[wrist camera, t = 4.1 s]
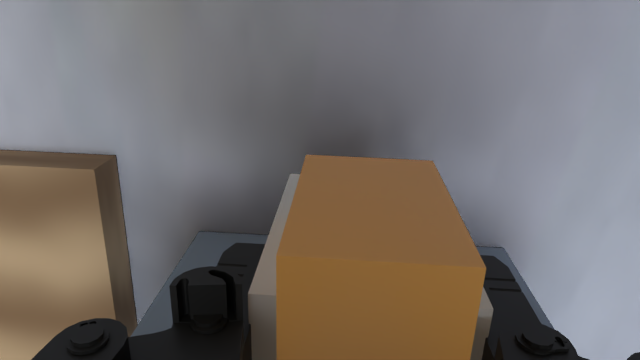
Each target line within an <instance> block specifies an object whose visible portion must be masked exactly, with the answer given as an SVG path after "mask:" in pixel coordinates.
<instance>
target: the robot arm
mask: <svg viewBox="0 0 640 360" xmlns="http://www.w3.org/2000/svg"><path fill="white" fill-rule="evenodd" d="M299 177H300V174H290V176H289V179H288V181H287V184H286V187H285V190H284V193H283V196H282V198H281V201H280V204H279V207H278V210H277V213H276V215H275V218H274V221H273V224H272V227H271V230H270V232H269V235H268V238H267V241H266V244H254V243H235V244H233V245H232V246H231V247H229V248H228V249H227V250H225V251H224V252H223V253H222V255H221V257H220V259H219V261H218V264H217V265H216V267H214V266H208V267H199V268H195V269H192V270H189V271H186V272H184V273H182V274H181V275H179V276H177V277H176V278H175V279H174V280H173V281H172V283H171V284H170V286H169V288H170V298H171V309H172V319H173V324H172V328H170V329H167V330H165V331H161V332H156V333H152V334H145V335H139V336H132V337H128V333H127V327H126V326H125V325H123V324H122V323H121V322H120V321H117V320H114V319H110V318H94V319H89V320H85V321H81V322H78V323H76V324H74V325H72V326H69V327H67V328H65V329H64V330H63V331H61V332H60V333H59V334H57V335H56V336H55V337H54V338H53V339H52V340H51V341H50V342H48V343H47V344H46V345H45V346H44V347H43V348H42V349H41V350H40V351H39V352H38V353H37V354H36V355H35V356H34V357H33V358H32V359H31V360H277V351H276V255H277V251H278V248H279V244H280V241H281V238H282V234H283V231H284V227H285V224H286V221H287V217H288V214H289V211H290V207H291V204H292V200H293V197H294V194H295V190H296V187H297V183H298V180H299ZM480 256H481V258H482V260H483V262H484V264H485V266H486V273H485V278H484V284H483V290H482V295H481V301H480V306H479V312H478V318H477V323H476V329H475V334H474V340H473V346H472V351H471V357H470V360H588V359H585V358H582V357H580V356H578V355H577V352H576V350H575V348H574V347H573V345H572V344H571V342H570V341H569V339H567V338H566V337H565V336H563V335H562V334H561V333H559V332H558V331H556V330H554V329H552V328H550V327H548V326H546V325H544V324H541V322H540V321H539V319H538V317H537V315H536V314H535V312H534V310H533V309H532V307H531V305H530V303H529V302H528V300H527V298H526V296H525V295H524V293H523V292H521V288H520V286H519V284H518V283H517V282H516V281H515V280H516V279H515V278H514V276H513V274H512V272H511V271H510V269H509V267H508V266H506V265H505V264H504V263H503V262H501V261H500V260H499V259H497V258H496V257H495V256H489V255H480ZM627 360H640V352H639V353H634V354H632V355H631V356H630V357H629V358H628V359H627Z"/></svg>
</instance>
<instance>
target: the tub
mask: <svg viewBox="0 0 640 360" xmlns="http://www.w3.org/2000/svg"><path fill="white" fill-rule="evenodd" d="M267 238H268V235H256V234H237V233H219V232H200V231H199V233H198V234H197V236H196V237H195V239H194V240H193V242H192V243H191V245H190V246H189V248H188V249H187V251H186V253H185V254H184V256H183V257H182V259H181V260H180V262H179V263H178V265H177V266H176V268H175V269H174V271H173V272H172V274H171V275H170V277H169V278H168V280H167V281H166V283H165V285H164V286H163V288H162V289H161V291H160V292H159V294H158V295H157V297H156V298H155V300H154V301H153V303H152V304H151V306H150V307H149V309H148V310H147V312H146V314H145V315H144V317H143V318H142V320H141V321H140V323H139V324H138V326H137V327H136V329H135V330H134V332H133V333H132V335H131V336H130V337H132V336H139V335H145V334H152V333H156V332H161V331H165V330H167V329H170V328H172V324H173V319H172V309H171V298H170V288H169V286H170V284H171V283H172V281H173V280H174V279H175V278H176V277H177V276H179V275H181V274H182V273H184V272H186V271H189V270H192V269H195V268H199V267H208V266H214V267H216V265H217V264H218V261H219V259H220V257H221V255H222V253H223V252H224V251H225V250H227V249H228V248H229V247H231V246H232V245H233V244H235V243H254V244H266V241H267ZM476 248H477V250H478V252H479V254H480V255H489V256H495V257H496V258H497V259H499V260H500V261H501V262H503V263H504V264H505V265H506V266H508V267H509V269H510V271H511V272H512V274H513V276H514V278H515V279H516V280H515V281H516V282H517V283H518V284H519V286H520V288H521V292H523V293H524V295H525V296H526V298H527V300H528V302H529V303H530V305H531V307H532V309H533V310H534V312H535V314H536V315H537V317H538V319H539V321H540V322H541V324H544V325H546V326H548V327H550V328H552V329H554V328H553V326H552V325H551V323H550V321H549V320H548V318H547V317H546V315H545V313H544V312H543V310H542V309H541V307H540V305H539V304H538V302H537V301H536V299H535V297H534V296H533V294H532V293H531V291H530V289H529V288H528V286H527V285H526V283H525V281H524V280H523V278H522V277H521V275H520V273H519V272H518V270H517V269H516V267H515V265H514V264H513V262H512V261H511V259H510V257H509V256H508V254H507V253H506V251H505V249H504V248H495V247H476ZM554 330H555V329H554Z"/></svg>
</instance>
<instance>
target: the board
mask: <svg viewBox="0 0 640 360" xmlns="http://www.w3.org/2000/svg"><path fill="white" fill-rule="evenodd" d="M94 318H110V319H114V320H117V321H120V322H121V323H122V324H123V325H125V326H126V327H127V333H128V337H130V336H131V335H132V333H133V332H134V330H135V329H136V327H137V319H136V312H135V304H134V296H133V288H132V280H131V272H130V264H129V256H128V248H127V240H126V232H125V224H124V217H123V209H122V201H121V193H120V185H119V177H118V169H117V161H116V155H96V154H75V153H54V152H33V151H12V150H0V360H31V359H32V358H33V357H34V356H35V355H36V354H37V353H38V352H39V351H40V350H41V349H42V348H43V347H44V346H45V345H46V344H47V343H48V342H50V341H51V340H52V339H53V338H54V337H55V336H56V335H57V334H59V333H60V332H61V331H63V330H64V329H65V328H67V327H69V326H72V325H74V324H76V323H78V322H81V321H85V320H89V319H94Z"/></svg>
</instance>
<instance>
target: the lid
mask: <svg viewBox="0 0 640 360" xmlns="http://www.w3.org/2000/svg"><path fill="white" fill-rule="evenodd" d="M485 273H486V266H485V264H484V262H483V260H482V258H481V256H480V254H479V252H478V250H477V248H476V246H475V244H474V242H473V240H472V238H471V236H470V234H469V232H468V230H467V228H466V226H465V224H464V222H463V220H462V218H461V216H460V214H459V212H458V210H457V208H456V206H455V204H454V202H453V200H452V198H451V196H450V194H449V192H448V190H447V188H446V186H445V184H444V182H443V180H442V178H441V176H440V174H439V172H438V170H437V168H436V166H435V164H434V162H433V161H429V160H409V159H388V158H367V157H346V156H325V155H306V156H305V160H304V163H303V166H302V170H301V173H300V177H299V180H298V183H297V187H296V190H295V194H294V197H293V200H292V204H291V207H290V211H289V214H288V217H287V221H286V224H285V227H284V231H283V234H282V238H281V241H280V244H279V248H278V251H277V255H276V351H277V360H470V357H471V351H472V346H473V340H474V334H475V329H476V323H477V318H478V312H479V306H480V301H481V295H482V290H483V284H484V278H485Z"/></svg>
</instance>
